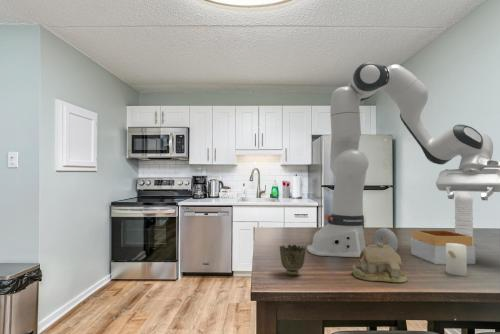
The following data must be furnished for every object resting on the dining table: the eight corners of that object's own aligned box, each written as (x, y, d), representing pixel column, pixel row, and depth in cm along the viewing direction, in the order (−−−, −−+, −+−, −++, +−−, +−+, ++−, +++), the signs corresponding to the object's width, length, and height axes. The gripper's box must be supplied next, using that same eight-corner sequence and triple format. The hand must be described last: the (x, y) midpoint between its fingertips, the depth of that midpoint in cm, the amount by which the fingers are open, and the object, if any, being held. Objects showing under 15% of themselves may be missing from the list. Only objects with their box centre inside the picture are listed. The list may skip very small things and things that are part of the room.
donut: (371, 252, 120) (371, 226, 121) (377, 252, 122) (377, 225, 122) (393, 259, 112) (393, 230, 112) (400, 258, 113) (400, 229, 113)
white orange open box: (434, 264, 105) (434, 236, 106) (411, 253, 119) (411, 229, 120) (483, 263, 106) (483, 236, 107) (454, 253, 120) (454, 230, 121)
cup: (287, 280, 87) (287, 250, 87) (274, 272, 94) (275, 245, 94) (310, 277, 90) (310, 248, 90) (296, 270, 96) (296, 243, 97)
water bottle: (462, 243, 142) (462, 187, 142) (476, 246, 135) (476, 187, 136) (447, 244, 139) (447, 186, 140) (461, 247, 133) (460, 187, 134)
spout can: (449, 269, 99) (448, 242, 99) (468, 273, 95) (468, 245, 96) (440, 275, 93) (439, 245, 94) (460, 279, 89) (460, 249, 90)
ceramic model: (393, 271, 97) (393, 238, 97) (414, 283, 86) (414, 246, 86) (347, 271, 96) (348, 238, 96) (363, 284, 85) (363, 246, 85)
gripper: (438, 163, 118) (429, 191, 111) (508, 161, 103) (503, 192, 96) (442, 176, 121) (434, 203, 114) (511, 175, 106) (507, 206, 99)
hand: (466, 198), depth 105 cm, fingers open, 8 cm apart
